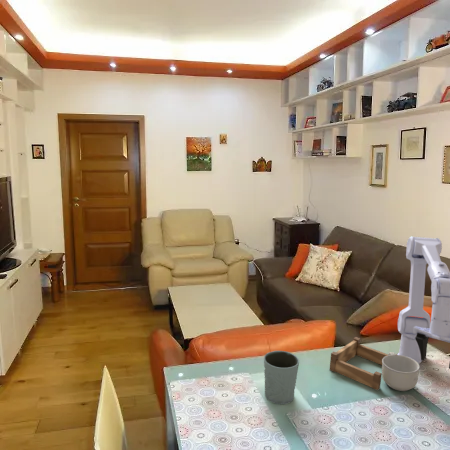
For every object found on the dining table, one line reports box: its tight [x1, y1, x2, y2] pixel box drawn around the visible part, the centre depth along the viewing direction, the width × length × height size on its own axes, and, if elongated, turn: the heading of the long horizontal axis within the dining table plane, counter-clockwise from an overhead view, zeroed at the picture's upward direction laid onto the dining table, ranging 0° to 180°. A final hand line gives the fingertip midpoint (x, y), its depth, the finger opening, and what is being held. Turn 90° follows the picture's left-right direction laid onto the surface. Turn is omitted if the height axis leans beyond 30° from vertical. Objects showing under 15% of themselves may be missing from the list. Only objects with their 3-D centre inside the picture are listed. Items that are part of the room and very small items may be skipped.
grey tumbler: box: [263, 350, 300, 405], centre depth 126 cm, size 10×10×12 cm
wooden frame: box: [329, 336, 398, 391], centre depth 143 cm, size 18×16×6 cm
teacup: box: [381, 351, 421, 392], centre depth 136 cm, size 14×11×8 cm
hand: (437, 363), depth 125 cm, fingers open, 7 cm apart
